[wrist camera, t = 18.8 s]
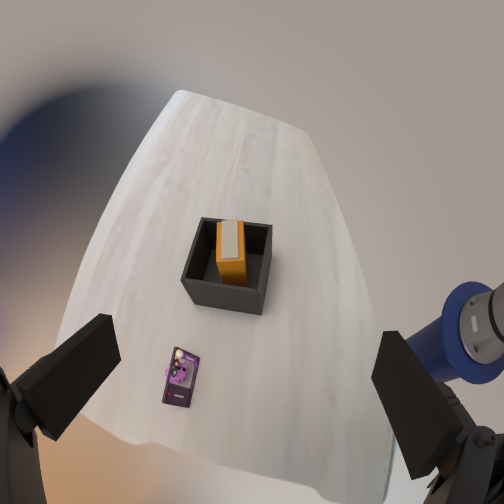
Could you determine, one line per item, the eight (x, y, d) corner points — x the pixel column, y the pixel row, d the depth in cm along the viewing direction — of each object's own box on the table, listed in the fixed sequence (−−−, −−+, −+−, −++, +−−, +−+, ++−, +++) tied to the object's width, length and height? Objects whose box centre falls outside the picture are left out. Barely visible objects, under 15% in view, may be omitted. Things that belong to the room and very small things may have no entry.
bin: (271, 255, 54) (272, 224, 46) (261, 315, 48) (260, 293, 40) (210, 247, 56) (201, 217, 48) (194, 304, 49) (180, 280, 41)
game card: (167, 404, 34) (180, 347, 39) (142, 396, 36) (154, 343, 41) (193, 409, 39) (203, 358, 44) (168, 402, 41) (178, 354, 46)
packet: (247, 260, 53) (242, 218, 42) (248, 294, 49) (244, 257, 39) (226, 261, 53) (216, 219, 43) (226, 295, 50) (215, 259, 39)
